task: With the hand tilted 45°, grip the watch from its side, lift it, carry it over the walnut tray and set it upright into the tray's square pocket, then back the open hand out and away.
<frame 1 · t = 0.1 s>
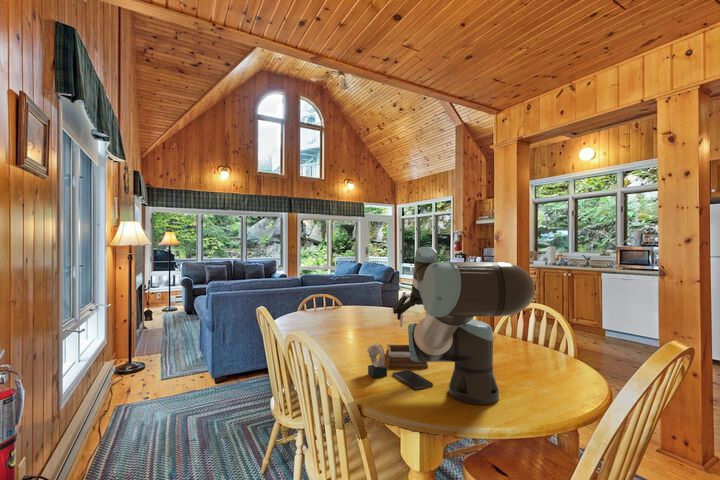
hand: (417, 324, 143), 15 cm above the table, tool tilted 35°, fingers open, 13 cm apart
phone: (412, 382, 125), on the table
walnut tray: (405, 360, 146), on the table
watch: (377, 375, 130), on the table
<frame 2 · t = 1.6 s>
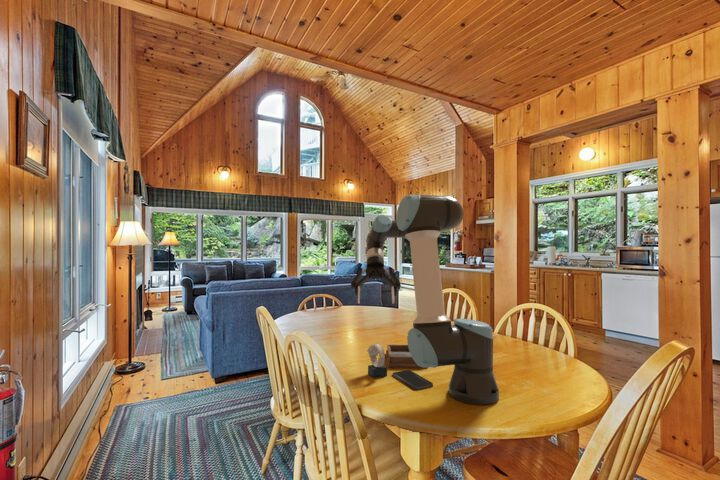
hand: (376, 301, 141), 25 cm above the table, tool tilted 45°, fingers open, 13 cm apart
nothing on the table moved.
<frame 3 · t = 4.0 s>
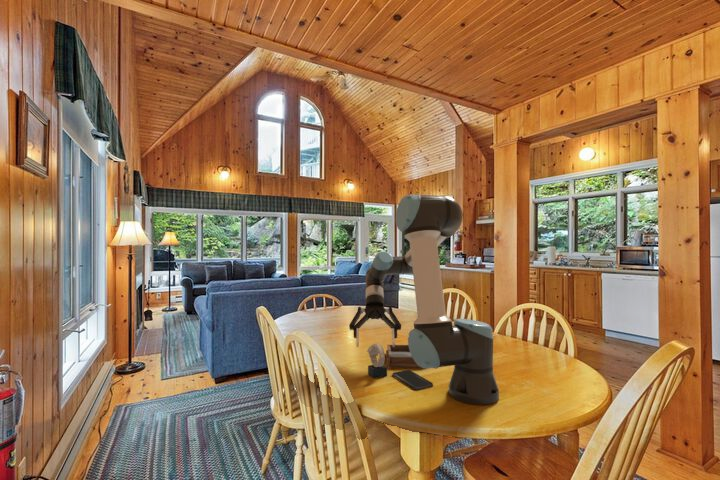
hand: (375, 345, 135), 9 cm above the table, tool tilted 45°, fingers open, 13 cm apart
nothing on the table moved.
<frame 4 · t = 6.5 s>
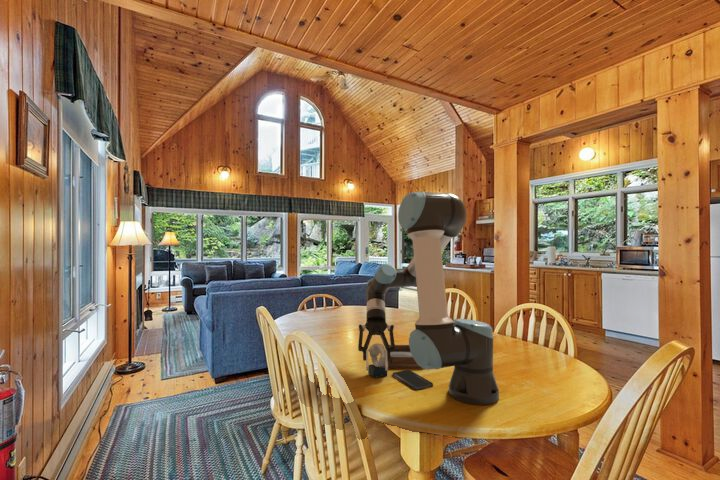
hand: (376, 368, 127), 3 cm above the table, tool tilted 45°, fingers closed on watch, 6 cm apart
watch: (377, 375, 130), on the table, touching gripper
everything else where it was.
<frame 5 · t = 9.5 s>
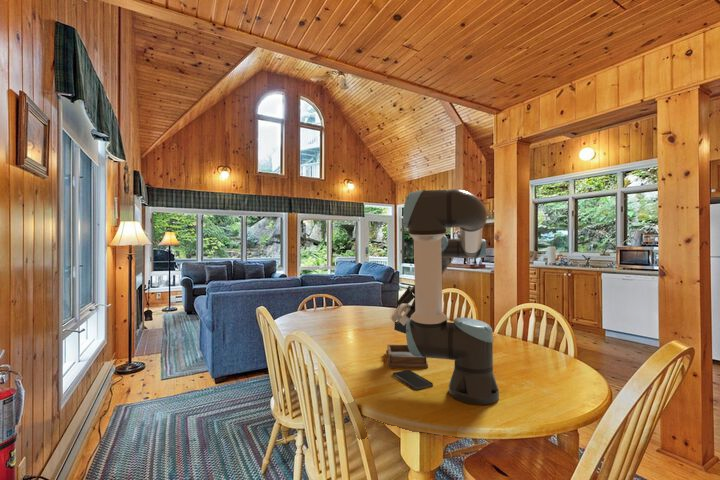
hand: (396, 321, 143), 16 cm above the table, tool tilted 45°, fingers closed on watch, 5 cm apart
watch: (403, 330, 145), point 12 cm above the table, touching gripper
everything else where it was.
when the fingers open (6 cm above the table, at t = 11.7 s): watch stays where it is, resting on walnut tray.
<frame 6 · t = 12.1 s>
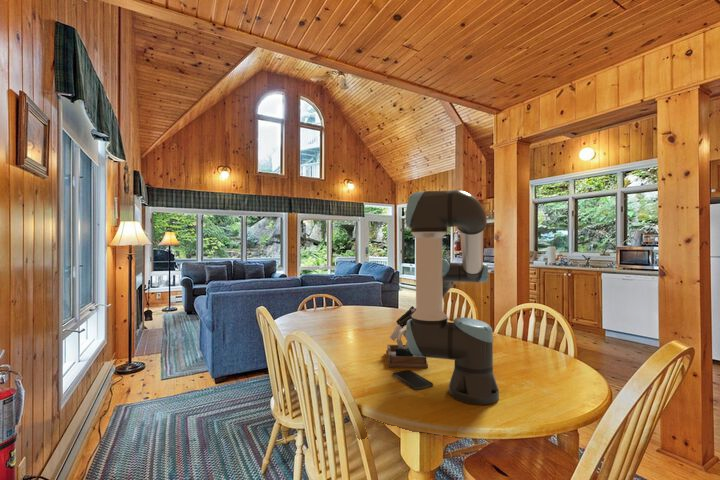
hand: (400, 342, 144), 8 cm above the table, tool tilted 45°, fingers open, 11 cm apart
watch: (404, 356, 146), point 2 cm above the table, touching walnut tray
everything else where it was.
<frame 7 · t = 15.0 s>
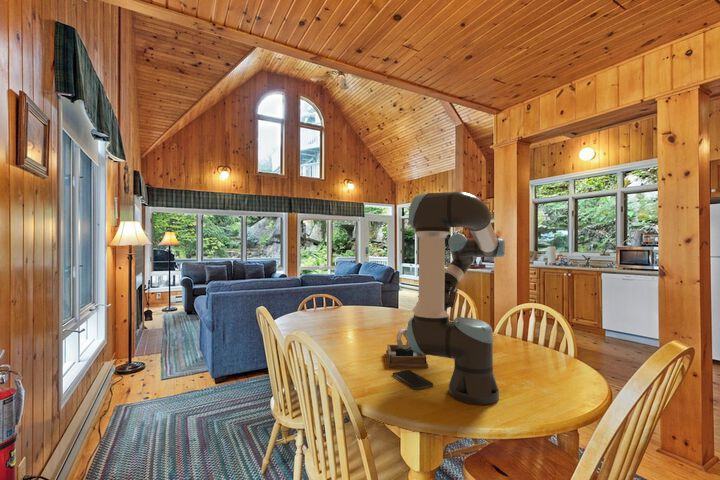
hand: (424, 315, 150), 17 cm above the table, tool tilted 45°, fingers open, 13 cm apart
nothing on the table moved.
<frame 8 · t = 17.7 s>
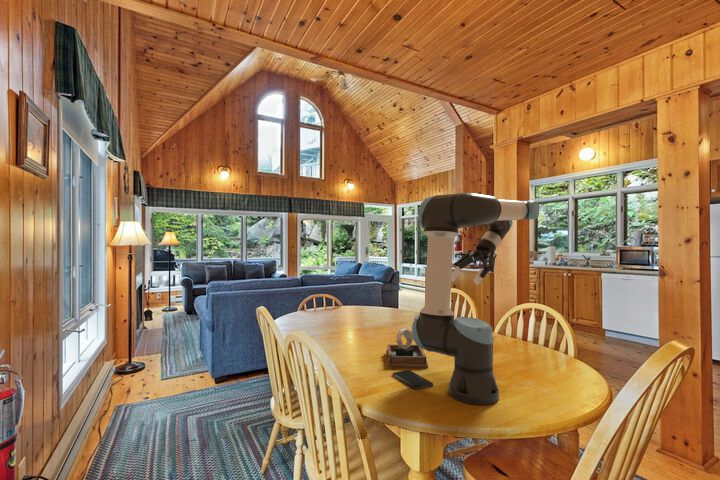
hand: (462, 281, 148), 32 cm above the table, tool tilted 45°, fingers open, 13 cm apart
nothing on the table moved.
at the end: watch inside the target area on the walnut tray (0.5 cm from its centre), point 1.5 cm above the walnut tray's base; watch tilted 0°; the gripper is holding nothing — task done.
